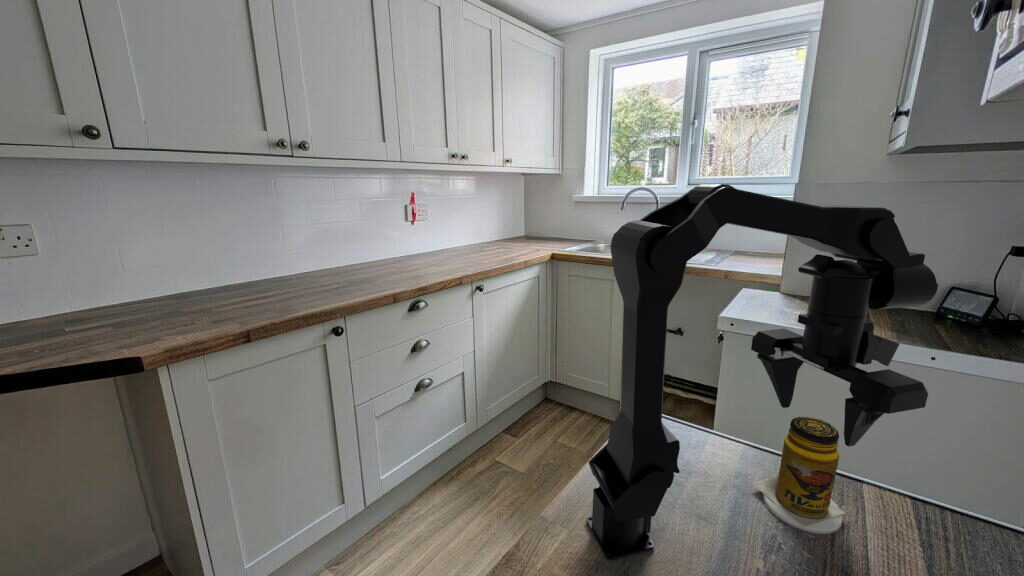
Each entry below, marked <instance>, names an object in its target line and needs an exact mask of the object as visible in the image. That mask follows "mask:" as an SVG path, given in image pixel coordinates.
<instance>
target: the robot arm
mask: <svg viewBox="0 0 1024 576" xmlns="http://www.w3.org/2000/svg"><path fill="white" fill-rule="evenodd" d="M895 218H896V215H895V213H894V212H893V211H892V210H890V209H888V208H885V207H879V206H878V207H877V206H862V205H861V206H860V205H843V204H811V203H810V204H809V203H805V202H800V201H795V200H790V199H785V198H781V197H776V196H772V195H767V194H762V193H757V192H752V191H748V190H743V189H738V188H735V187H734V186H732V185H729V184H724V183H723V184H720V183H719V184H717V183H716V184H712V183H711V184H709V183H708V184H707V183H706V184H705V183H703V184H702V183H701V184H699V185H696V186H694V187H692V189H689V190H688V191H687V192H686V193H684V194H682V195H681V196H680V197H679V198H677V199H675V200H673V201H671V202H668V203H666V204H665V205H663V206H661V207H659V208H657V209H654V210H653V211H650V212H649V213H648V214H646V215H645V216H643V217H642V218H641V219H639V220H633V221H628V222H626V223H624V224H622V226H621V227H619V228H618V230H617V231H616V232H614V233H613V235H612V238H611V240H610V241H611V243H610V255H611V260H612V268H613V274H614V277H615V280H616V283H617V286H618V290H619V293H620V294H621V298H622V300H623V301H622V302H623V317H622V318H623V319H622V320H623V321H622V348H621V349H622V352H621V354H622V355H621V383H620V384H621V387H620V388H621V390H620V391H621V392H620V395H621V396H620V412H619V414H618V416H617V417H616V418H615V420H614V422H613V423H612V424H611V426H610V429H609V434H608V439H607V443H606V444H605V445H604V446H603V447H602V448H601V449H600V450H598V452H597V453H596V454H595V455H594V456H593V457H591V458H590V460H589V461H588V465H589V468H590V471H591V474H592V475H593V477H594V479H596V481H597V483H598V487H594V488H593V491H592V493H593V494H592V510H591V511H592V513H591V514H592V515H588V516H587V517H586V524H587V525H588V527H589V529H590V532H591V533H592V535H593V537H594V538H595V540H596V542H597V544H598V547H600V550H601V552H602V554H603V556H604V558H606V559H607V560H614V559H618V558H623V557H627V556H632V555H636V554H640V553H644V552H649V551H652V550H654V548H655V544H654V542H653V540H652V538H651V537H650V536H649V534H650V532H651V527H652V517H654V516H656V514H657V512H658V510H659V507H660V505H661V503H662V502H663V499H664V497H665V494H666V493H667V491H668V489H670V488H671V486H672V484H673V482H674V478H675V473H676V474H679V473H681V472H680V469H679V465H678V459H679V454H680V450H681V446H680V445H681V444H680V440H679V439H678V438H677V437H676V436H675V435H674V433H672V432H671V430H669V429H668V427H666V425H665V424H664V423H663V421H662V420H663V417H662V416H663V401H664V400H663V399H664V386H665V385H664V384H665V383H664V382H665V367H666V366H665V364H666V350H667V349H666V346H667V344H666V343H667V330H668V310H669V306H670V304H671V303H672V301H673V299H674V298H675V296H676V294H677V293H678V292H679V290H680V288H681V287H682V285H683V280H684V276H685V273H686V269H687V264H688V261H690V260H691V259H693V258H694V257H695V256H697V255H698V254H700V253H701V252H702V251H704V250H705V249H707V247H708V246H709V244H710V243H711V242H712V240H713V239H714V238H715V236H716V235H717V233H718V231H719V230H720V229H721V228H723V226H726V225H730V226H731V225H732V226H737V227H742V228H747V229H752V230H753V229H754V230H757V231H764V232H769V233H774V234H780V235H785V236H789V237H791V238H794V239H796V240H797V241H798V242H799V243H801V244H803V245H804V246H805V245H806V246H807V247H811V248H812V249H815V250H817V251H820V252H824V253H830V254H831V255H832V256H830V255H824V254H819V253H817V254H815V255H814V257H812V258H811V259H810V260H808V261H806V262H804V263H803V264H801V265H800V266H798V269H797V271H798V272H799V273H800V274H803V275H804V274H805V275H809V276H813V277H812V284H811V288H810V294H809V300H808V304H807V305H808V307H807V313H802V314H798V318H797V323H799V324H801V325H804V328H803V330H804V331H803V335H802V334H799V333H797V332H794V331H792V330H788V329H786V328H777V329H767V330H766V329H765V330H759V331H757V332H756V334H754V336H753V337H752V339H751V347H750V350H751V351H753V352H755V353H757V354H756V358H757V359H758V360H760V361H761V363H762V365H763V367H764V369H765V371H766V373H767V375H768V377H769V379H770V380H769V381H770V382H771V384H772V386H773V389H774V392H775V394H776V396H777V400H778V403H779V404H780V407H781V408H783V409H788V408H790V406H791V403H792V400H793V398H794V392H795V386H796V382H797V376H798V372H799V370H800V369H801V367H802V366H803V364H804V363H805V364H808V365H810V366H812V367H815V368H817V369H819V370H822V371H824V372H825V373H828V374H830V375H833V376H834V377H837V378H838V379H841V380H843V381H846V382H847V383H849V384H850V385H849V389H848V390H849V393H850V394H851V396H852V397H847V398H844V402H845V403H844V419H843V420H844V424H843V425H844V426H843V439H844V445H845V446H847V447H854V446H855V445H857V443H858V442H859V441H860V440H861V439H862V438H863V436H864V435H865V434H866V433H867V432H868V430H869V429H870V428H871V427H872V426H873V425H874V423H875V422H876V421H878V420H879V419H880V418H881V417H882V416H884V415H885V414H887V415H890V414H896V413H901V412H907V411H912V410H917V409H923V408H924V409H925V408H926V404H927V400H928V398H929V392H928V389H927V387H926V386H925V385H924V382H923V381H920V380H918V379H915V378H913V377H910V376H908V375H905V374H903V373H899V372H897V371H894V370H891V369H890V368H889V369H882V370H881V369H880V370H873V371H866V370H864V369H861V368H858V367H857V364H860V365H863V366H865V365H866V366H867V365H871V364H872V361H876V362H878V363H879V364H881V365H883V366H886V367H889V365H890V364H891V362H892V361H893V358H894V356H895V355H896V352H897V350H898V348H899V346H900V343H899V342H896V341H894V340H891V339H889V338H885V337H882V336H880V335H877V334H874V330H875V326H874V322H872V321H869V320H866V319H867V315H868V311H869V309H870V310H871V309H872V310H883V309H900V308H913V307H916V308H917V307H920V306H924V305H926V304H928V303H929V302H930V301H932V300H933V298H934V297H935V296H936V294H937V292H938V287H939V284H938V283H937V278H936V276H935V273H934V272H933V270H932V269H931V268H930V267H929V266H927V265H926V264H925V263H924V262H925V258H926V254H924V253H920V252H919V253H918V252H915V251H914V252H913V251H909V250H908V247H907V245H906V242H905V240H904V239H903V236H902V233H901V231H900V229H899V226H898V224H897V223H896V221H895ZM833 256H834V257H833ZM835 257H836V258H838V260H835V259H834V258H835ZM839 258H840V260H839Z"/></svg>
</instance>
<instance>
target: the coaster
mask: <svg viewBox="0 0 1024 576" xmlns="http://www.w3.org/2000/svg"><path fill="white" fill-rule="evenodd" d="M762 494H763V493H762ZM762 498H763V502H764V505H765V506H766V507H767V509H768V510H769V511H770V512H771V513H772V514H773V515H774V516H775V517H777V518H778V519H779V520H781V521H783V522H784V523H786V524H787V525H789V526H791V527H793V528H795V529H798V530H800V531H804V532H807V533H811V534H817V535H829V534H834V533H836V532H838V531H839V530H840V528H841V527H842V523H843V514H841V515H837V516H835V517H833V518H830V519H827V520H824V521H821V522H818V523H814V524H810V525H807V526H803V525H801V524H800V523H799V522H797V521H796V520H795V519H794V518H792V517H791V516H790V515H789V514H788V513H786V512H785V511H784V510H783V509H781V508H780V507H779V506H778V505H776V504H775V503H774V502H773V501H772V500H771V499H770V498H769V497H767V496H766V495H765V494H763V495H762ZM830 500H831V503H832V504H833V505H835V506H837V507H838V508H839V506H838V505H837V504H836V503H835V502H834V501H833V500H832V498H831V499H830Z"/></svg>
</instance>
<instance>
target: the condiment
mask: <svg viewBox="0 0 1024 576" xmlns="http://www.w3.org/2000/svg"><path fill="white" fill-rule="evenodd" d="M839 438H840V435H839V430H838V429H837V428H836V427H835V426H834V425H832V424H831V423H829V422H827V421H825V420H823V419H819V418H816V417H810V416H797V417H794V418H792V419H791V421H790V424H789V429H788V434H786V436H785V437H784V441H783V446H782V451H781V459H780V465H779V470H778V475H775V476H773V477H768V478H767V479H766V478H765V479H761V480H758V481H753V482H750V484H751V485H752V486H754V487H755V488H756V489H757V490H758V491H759V492H761V493H762V494H765V495H766V496H767V497H769V498H770V499H771V500H772V501H773V502H774V503H775V504H776V505H778V506H779V507H780V508H781V509H783V510H784V511H785V512H786V513H788V514H789V515H790V516H791V517H792V518H794V519H795V520H796V521H797V522H799V523H800V524H801V525H803V526H807V525H810V524H814V523H818V522H821V521H824V520H827V519H830V518H833V517H835V516H837V515H841V514H842V515H844V514H846V511H844V510H843V509H841V508H839V506H838V505H837V506H838V507H837V506H835V505H833V504H832V503H831V500H832V494H833V491H834V485H835V481H836V473H837V470H838V467H839V459H840V452H839V450H838V447H839ZM830 499H831V500H830Z"/></svg>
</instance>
